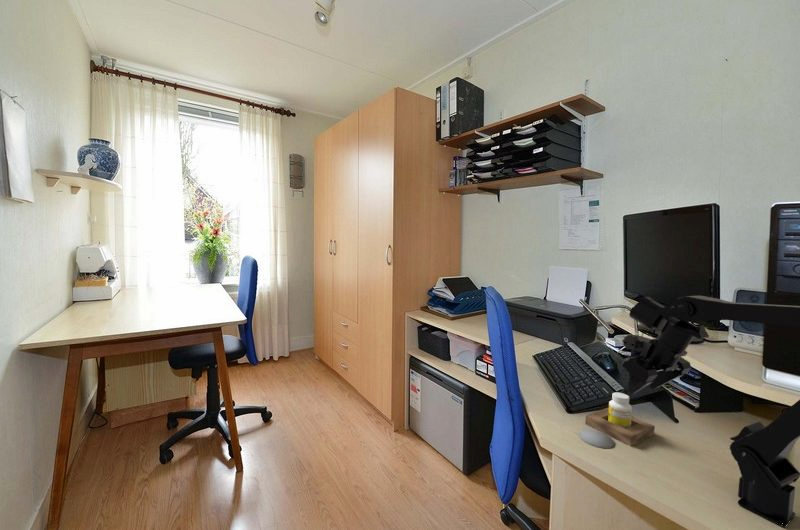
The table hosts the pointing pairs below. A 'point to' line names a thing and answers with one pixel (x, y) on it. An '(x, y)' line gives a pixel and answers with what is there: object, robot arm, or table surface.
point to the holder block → (627, 436)
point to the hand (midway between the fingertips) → (640, 390)
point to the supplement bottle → (620, 410)
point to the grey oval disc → (596, 438)
